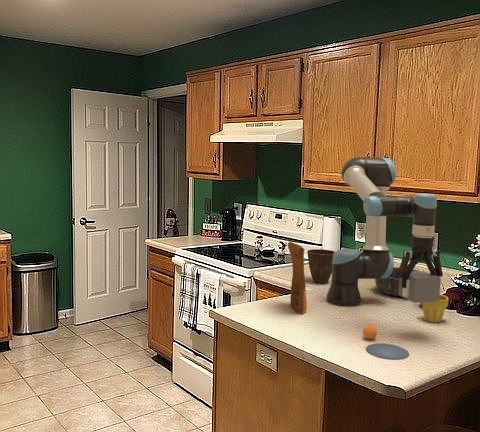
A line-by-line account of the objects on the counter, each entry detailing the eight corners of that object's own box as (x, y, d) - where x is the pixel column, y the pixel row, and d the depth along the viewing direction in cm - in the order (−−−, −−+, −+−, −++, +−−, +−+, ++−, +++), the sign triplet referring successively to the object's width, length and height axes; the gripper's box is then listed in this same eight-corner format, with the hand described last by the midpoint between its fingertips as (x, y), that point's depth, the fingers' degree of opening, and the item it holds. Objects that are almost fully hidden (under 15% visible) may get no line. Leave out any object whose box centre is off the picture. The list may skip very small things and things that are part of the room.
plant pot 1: (308, 277, 277) (309, 248, 275) (336, 280, 273) (338, 250, 271) (303, 284, 263) (305, 253, 261) (333, 287, 259) (335, 255, 257)
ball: (360, 337, 188) (360, 323, 188) (372, 336, 189) (373, 322, 189) (366, 341, 183) (367, 328, 183) (379, 341, 185) (380, 327, 184)
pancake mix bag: (293, 315, 211) (296, 247, 207) (284, 302, 230) (287, 239, 226) (309, 315, 211) (312, 247, 208) (299, 302, 230) (302, 239, 227)
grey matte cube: (398, 294, 195) (400, 271, 194) (422, 293, 198) (424, 271, 197) (413, 302, 186) (415, 278, 185) (438, 301, 188) (440, 277, 187)
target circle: (358, 345, 180) (358, 344, 180) (394, 342, 183) (394, 342, 183) (379, 361, 166) (379, 360, 166) (417, 358, 170) (417, 357, 170)
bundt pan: (441, 296, 249) (442, 275, 248) (406, 303, 234) (407, 282, 233) (395, 283, 270) (397, 264, 269) (361, 290, 255) (362, 270, 254)
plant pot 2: (443, 325, 204) (445, 301, 203) (416, 320, 209) (418, 296, 208) (448, 319, 213) (450, 295, 212) (422, 314, 218) (424, 291, 217)
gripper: (400, 238, 183) (396, 300, 185) (456, 237, 188) (451, 297, 191) (389, 234, 190) (385, 294, 192) (443, 234, 196) (439, 291, 198)
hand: (418, 295), depth 192 cm, fingers closed on grey matte cube, 10 cm apart
